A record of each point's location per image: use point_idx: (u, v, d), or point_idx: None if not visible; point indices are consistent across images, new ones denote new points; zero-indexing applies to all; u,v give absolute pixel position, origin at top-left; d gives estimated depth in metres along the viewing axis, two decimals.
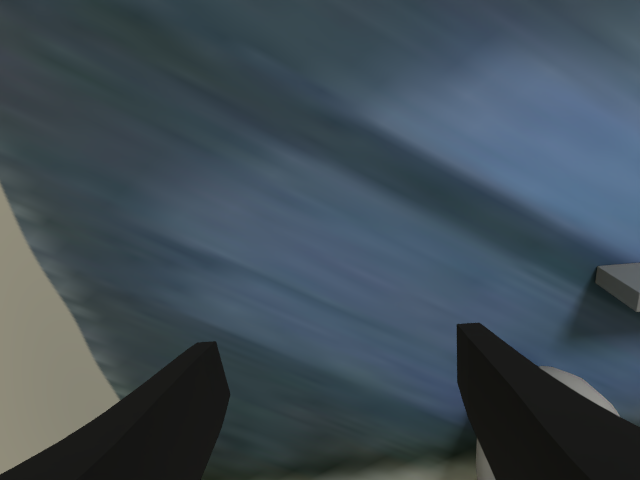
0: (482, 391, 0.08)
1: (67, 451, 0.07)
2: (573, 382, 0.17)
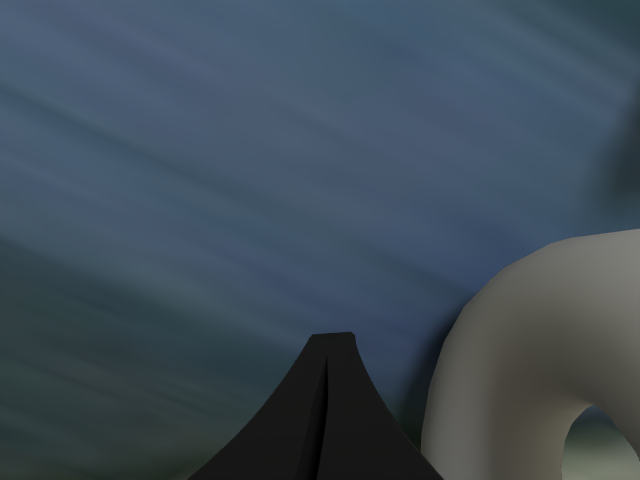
0: None
1: (256, 444, 0.06)
2: None
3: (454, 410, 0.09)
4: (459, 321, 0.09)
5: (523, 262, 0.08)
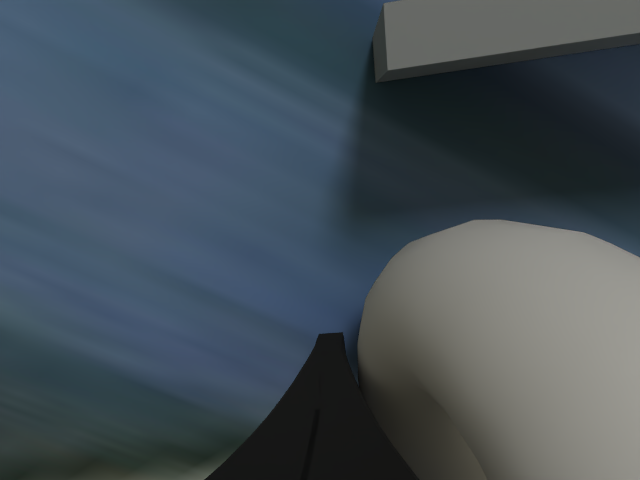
0: None
1: (272, 443, 0.06)
2: (479, 235, 0.05)
3: None
4: (358, 348, 0.09)
5: (376, 284, 0.07)
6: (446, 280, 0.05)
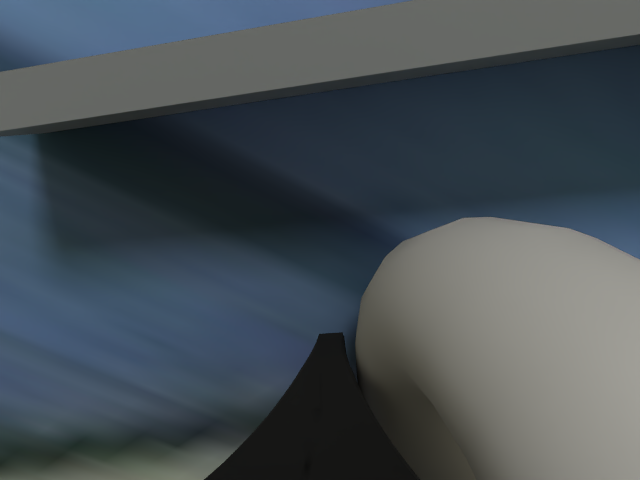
0: None
1: (272, 444, 0.06)
2: (466, 233, 0.05)
3: None
4: (355, 347, 0.09)
5: (370, 284, 0.07)
6: (433, 278, 0.05)
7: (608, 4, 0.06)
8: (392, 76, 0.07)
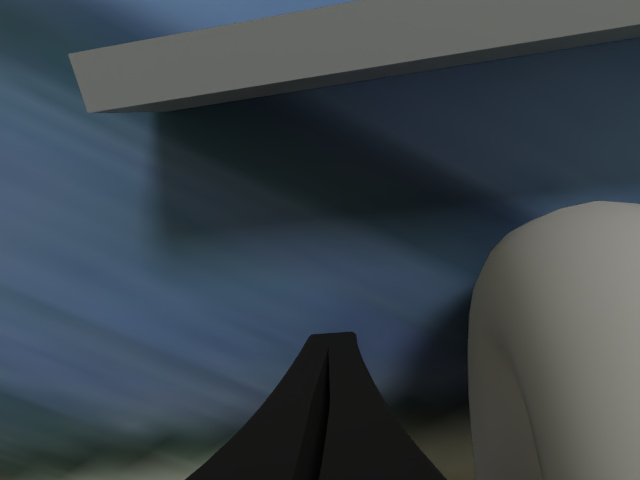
0: None
1: (254, 443, 0.06)
2: (587, 215, 0.05)
3: (481, 405, 0.09)
4: (469, 317, 0.09)
5: (488, 256, 0.08)
6: (535, 252, 0.05)
7: None
8: (592, 38, 0.07)
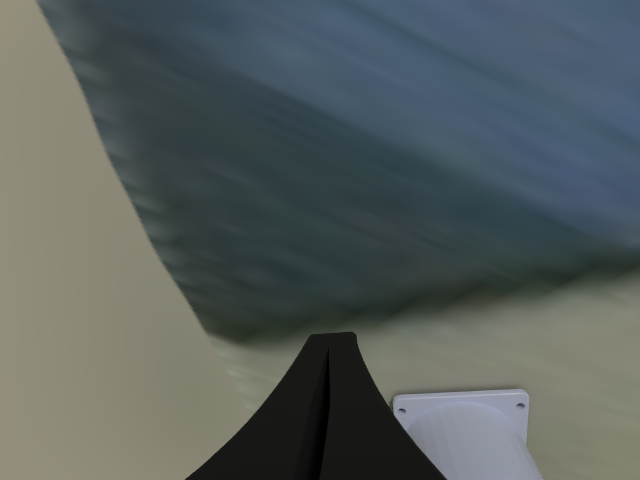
0: None
1: (254, 444, 0.06)
2: None
3: None
4: None
5: None
6: None
7: None
8: None
